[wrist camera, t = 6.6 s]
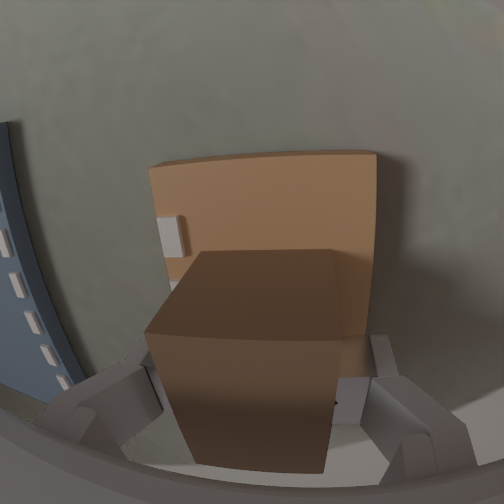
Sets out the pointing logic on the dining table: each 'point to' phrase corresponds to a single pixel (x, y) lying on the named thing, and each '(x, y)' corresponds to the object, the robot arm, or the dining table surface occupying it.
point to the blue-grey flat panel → (27, 304)
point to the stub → (261, 299)
